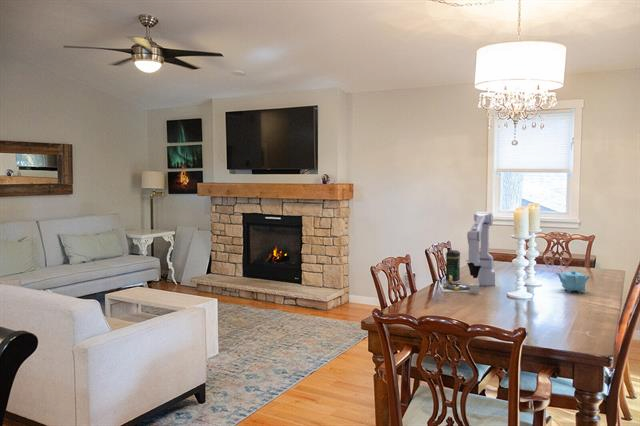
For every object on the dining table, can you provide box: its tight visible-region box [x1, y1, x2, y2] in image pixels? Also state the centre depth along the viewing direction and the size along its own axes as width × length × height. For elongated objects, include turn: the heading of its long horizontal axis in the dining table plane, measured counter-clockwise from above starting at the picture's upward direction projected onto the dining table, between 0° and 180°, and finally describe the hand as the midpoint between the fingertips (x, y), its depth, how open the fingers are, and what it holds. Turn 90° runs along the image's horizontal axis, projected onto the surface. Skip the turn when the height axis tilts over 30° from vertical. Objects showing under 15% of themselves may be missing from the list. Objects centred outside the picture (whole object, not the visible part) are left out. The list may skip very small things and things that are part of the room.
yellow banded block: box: [468, 283, 480, 295], centre depth 287 cm, size 5×3×5 cm, turn 84°
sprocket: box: [442, 276, 470, 291], centre depth 299 cm, size 16×17×6 cm
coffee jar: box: [445, 249, 461, 281], centre depth 327 cm, size 10×8×19 cm
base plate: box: [438, 284, 469, 293], centre depth 299 cm, size 19×19×1 cm
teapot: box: [555, 270, 591, 294], centre depth 289 cm, size 16×18×11 cm
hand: (473, 276), depth 286 cm, fingers open, 7 cm apart
